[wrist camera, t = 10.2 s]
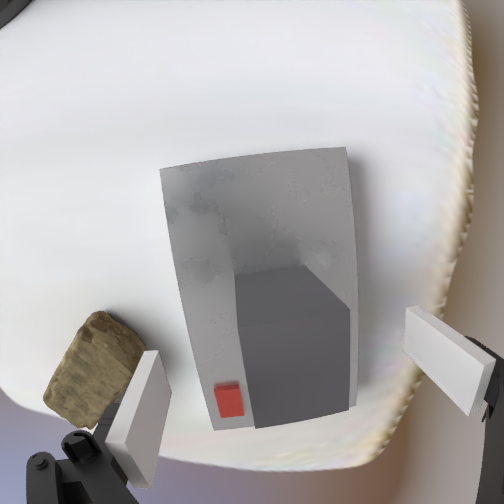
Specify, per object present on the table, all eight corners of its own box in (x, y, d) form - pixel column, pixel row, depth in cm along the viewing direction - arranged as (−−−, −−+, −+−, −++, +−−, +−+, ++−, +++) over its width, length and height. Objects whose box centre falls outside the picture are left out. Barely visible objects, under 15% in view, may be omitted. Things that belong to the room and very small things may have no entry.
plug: (233, 266, 24) (237, 328, 13) (296, 257, 24) (349, 308, 13) (244, 335, 25) (255, 428, 14) (302, 326, 26) (348, 410, 14)
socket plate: (168, 172, 23) (157, 168, 19) (332, 152, 23) (348, 146, 20) (214, 410, 27) (213, 434, 23) (345, 388, 27) (358, 409, 24)
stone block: (58, 378, 26) (37, 403, 21) (101, 301, 24) (78, 322, 20) (102, 410, 26) (87, 440, 22) (154, 340, 25) (140, 369, 21)
